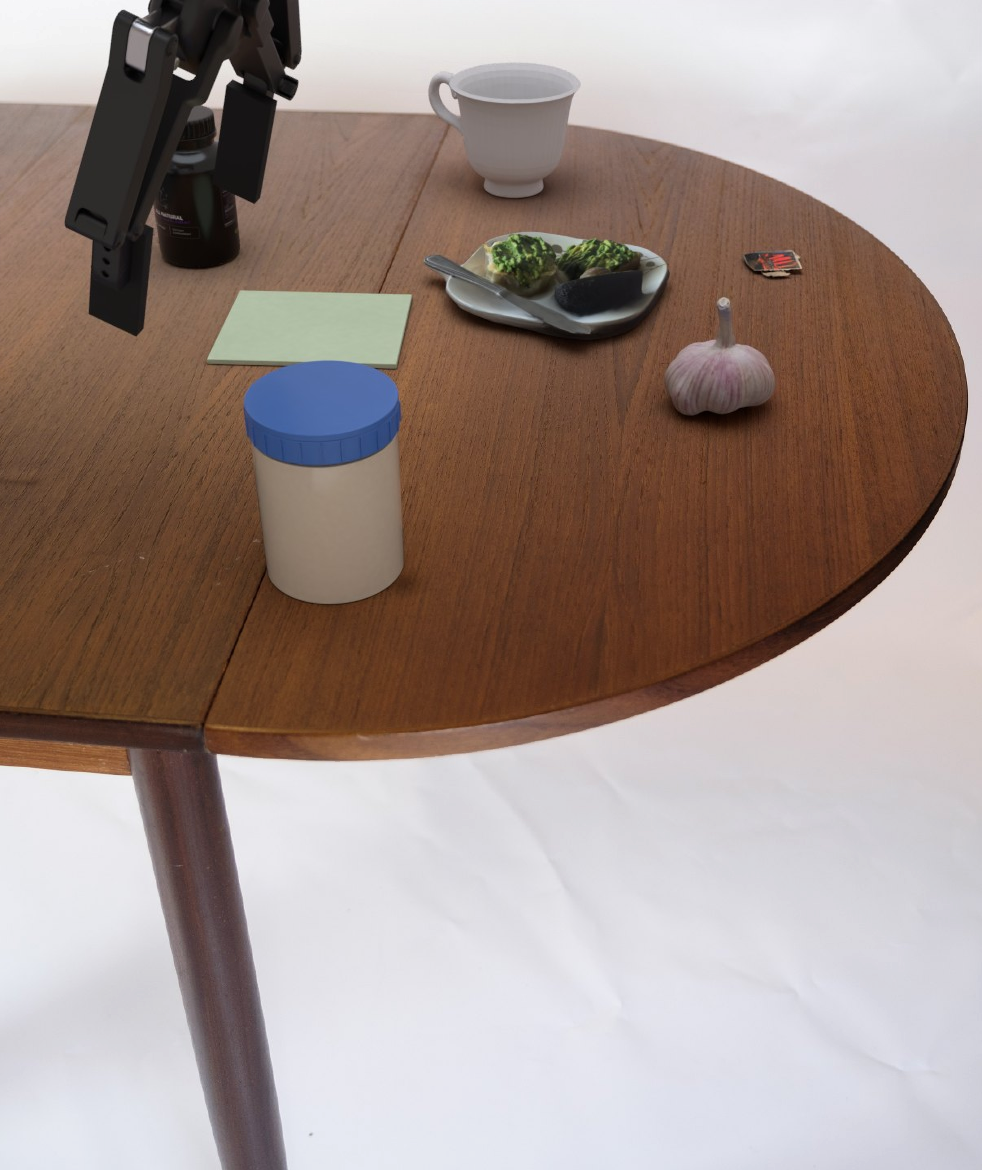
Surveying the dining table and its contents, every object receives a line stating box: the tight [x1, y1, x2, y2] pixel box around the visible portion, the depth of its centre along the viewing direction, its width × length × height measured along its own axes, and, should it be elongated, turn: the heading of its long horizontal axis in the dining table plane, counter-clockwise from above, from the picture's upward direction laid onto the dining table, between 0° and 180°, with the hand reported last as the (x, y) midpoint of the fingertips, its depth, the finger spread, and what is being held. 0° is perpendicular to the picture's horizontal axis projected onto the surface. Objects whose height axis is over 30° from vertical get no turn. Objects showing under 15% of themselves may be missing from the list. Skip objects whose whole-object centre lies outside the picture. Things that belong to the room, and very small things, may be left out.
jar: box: [249, 431, 405, 605], centre depth 72 cm, size 8×8×10 cm
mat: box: [206, 289, 413, 370], centre depth 99 cm, size 14×12×1 cm
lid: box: [242, 360, 402, 465], centre depth 69 cm, size 8×8×2 cm
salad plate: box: [423, 231, 671, 341], centre depth 103 cm, size 19×18×5 cm
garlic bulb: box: [664, 296, 776, 416], centre depth 87 cm, size 8×7×8 cm
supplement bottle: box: [153, 105, 241, 269], centre depth 107 cm, size 7×7×12 cm
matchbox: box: [742, 249, 803, 278], centre depth 108 cm, size 5×5×1 cm
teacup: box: [427, 62, 581, 199], centre depth 121 cm, size 12×15×10 cm
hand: (179, 252), depth 70 cm, fingers open, 13 cm apart
